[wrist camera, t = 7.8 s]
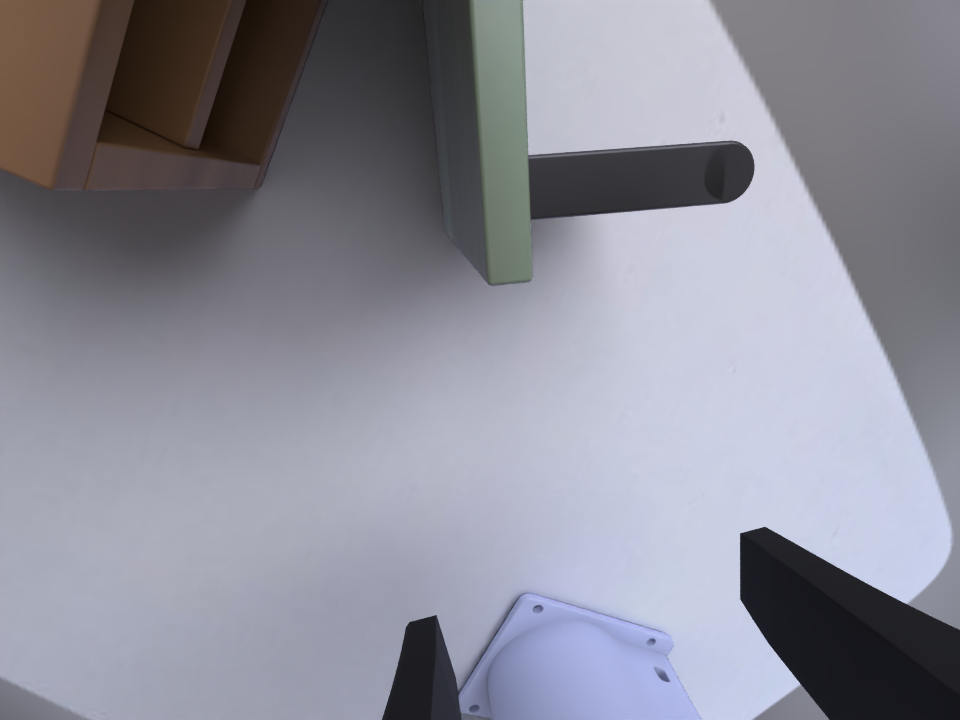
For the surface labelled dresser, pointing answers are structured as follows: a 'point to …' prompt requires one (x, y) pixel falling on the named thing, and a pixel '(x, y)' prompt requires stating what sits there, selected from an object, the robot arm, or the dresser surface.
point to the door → (544, 177)
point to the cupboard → (148, 90)
